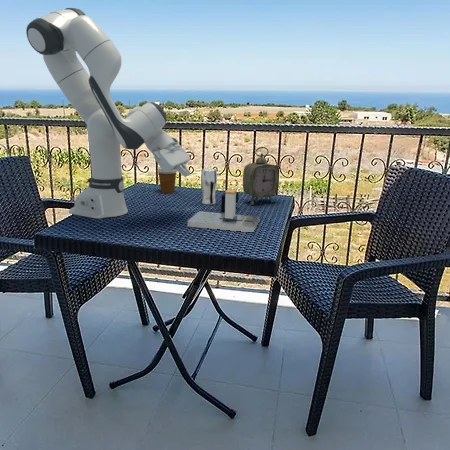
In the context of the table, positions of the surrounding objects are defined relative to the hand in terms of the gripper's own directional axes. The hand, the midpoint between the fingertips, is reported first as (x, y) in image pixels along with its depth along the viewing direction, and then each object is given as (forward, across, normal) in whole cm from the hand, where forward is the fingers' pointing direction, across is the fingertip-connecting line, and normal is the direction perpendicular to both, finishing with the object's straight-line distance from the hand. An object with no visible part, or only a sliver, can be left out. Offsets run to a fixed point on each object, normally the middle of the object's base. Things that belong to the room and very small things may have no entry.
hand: (188, 175), depth 141 cm
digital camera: (+20, +21, +4) cm, 30 cm away
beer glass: (+12, +28, +12) cm, 33 cm away
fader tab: (+22, 0, -1) cm, 22 cm away
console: (+22, 0, +2) cm, 22 cm away
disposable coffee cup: (-5, +42, +30) cm, 52 cm away
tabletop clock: (+27, +37, -2) cm, 46 cm away
